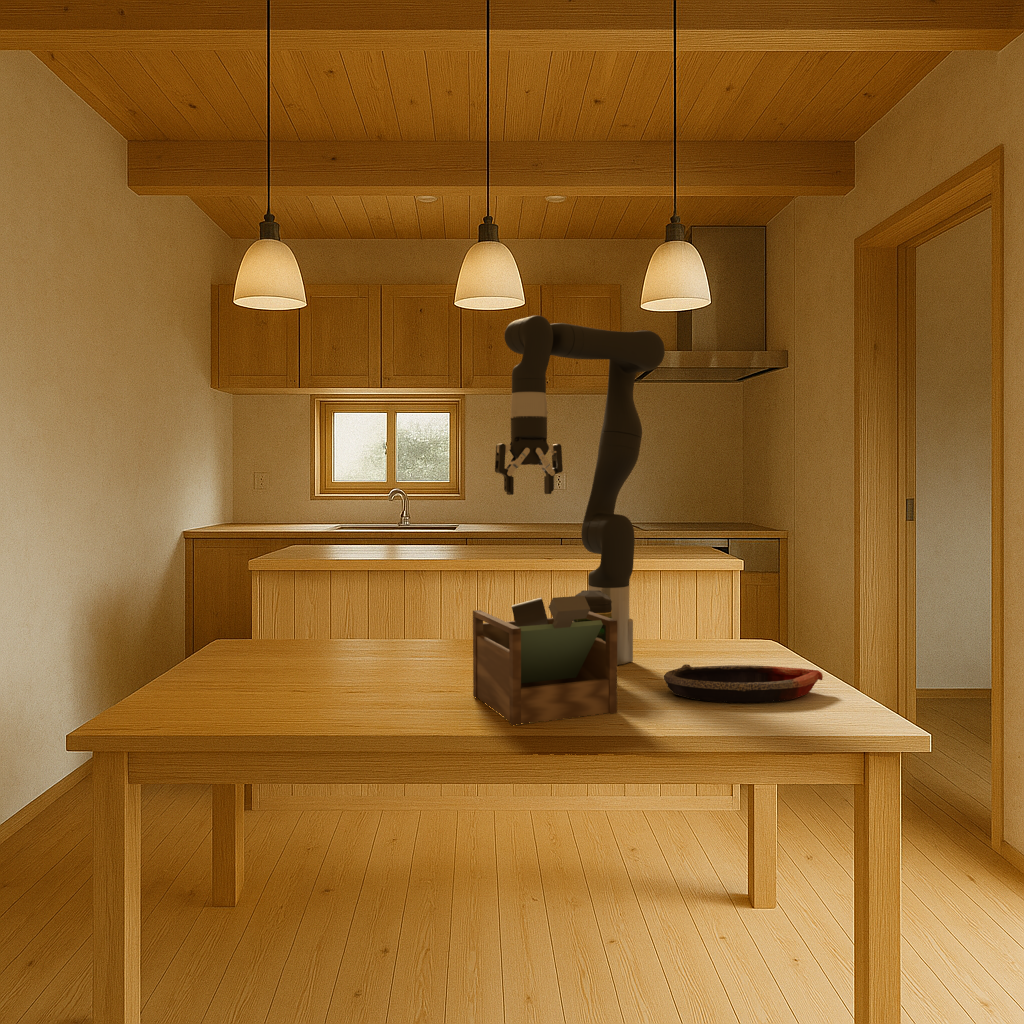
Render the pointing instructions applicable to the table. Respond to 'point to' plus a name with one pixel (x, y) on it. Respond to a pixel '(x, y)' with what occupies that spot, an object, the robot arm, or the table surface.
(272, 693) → the table surface
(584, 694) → the wooden crate
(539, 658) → the trapdoor
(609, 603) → the coffee jar
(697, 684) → the dish
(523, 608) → the phone stand
